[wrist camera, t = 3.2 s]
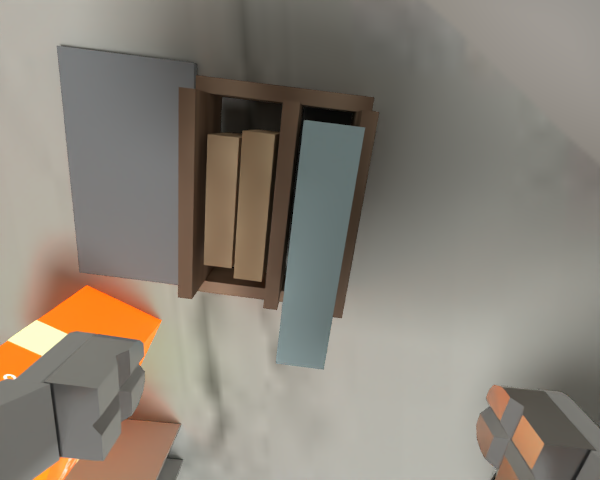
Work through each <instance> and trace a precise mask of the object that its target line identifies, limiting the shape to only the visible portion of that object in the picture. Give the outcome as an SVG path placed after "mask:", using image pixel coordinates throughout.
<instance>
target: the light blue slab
mask: <svg viewBox="0 0 600 480" xmlns="http://www.w3.org/2000/svg"><path fill="white" fill-rule="evenodd" d="M364 132H365V127H357V126H349V125H341V124H333V123H325V122H317V121H309V120H304V123H303V132H302V141H301V149H300V158H299V167H298V175H297V184H296V193H295V201H294V210H293V219H292V227H291V236H290V245H289V253H288V262H287V271H286V279H285V288H284V297H283V305H282V314H281V323H280V331H279V340H278V349H277V357H276V363H277V364H285V365H292V366H300V367H308V368H316V369H323V370H324V364H325V359H326V353H327V347H328V341H329V335H330V329H331V324H332V318H333V312H334V306H335V300H336V295H337V289H338V283H339V277H340V271H341V265H342V260H343V254H344V248H345V242H346V236H347V231H348V225H349V219H350V213H351V207H352V201H353V196H354V190H355V184H356V178H357V172H358V167H359V161H360V155H361V149H362V143H363V137H364Z"/></svg>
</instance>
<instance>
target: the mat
mask: <svg viewBox="0 0 600 480" xmlns="http://www.w3.org/2000/svg"><path fill="white" fill-rule="evenodd" d="M57 53H58V63H59V73H60V83H61V93H62V103H63V113H64V123H65V133H66V142H67V152H68V162H69V172H70V182H71V192H72V202H73V212H74V222H75V231H76V241H77V251H78V261H79V271H80V272H81V273H88V274H96V275H104V276H112V277H120V278H127V279H135V280H143V281H151V282H159V283H166V284H174V285H178V104H179V87H183V88H191V89H196V75H197V64H196V63H192V62H184V61H176V60H168V59H160V58H152V57H144V56H136V55H128V54H120V53H112V52H104V51H96V50H88V49H80V48H72V47H64V46H57Z"/></svg>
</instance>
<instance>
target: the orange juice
mask: <svg viewBox="0 0 600 480" xmlns="http://www.w3.org/2000/svg"><path fill="white" fill-rule="evenodd" d="M160 323H161V320H159V319H157V318H155V317H153V316H151V315H149V314H147V313H144V312H142V311H140V310H138V309H136V308H134V307H132V306H130V305H128V304H125V303H123V302H121V301H119V300H117V299H115V298H113V297H111V296H109V295H106V294H104V293H102V292H100V291H98V290H96V289H94V288H92V287H90V286H87V285H86V286H85V287H84V288H82V289H81V290H79V291H78V292H77V293H75V294H74V295H72V296H71V297H69V298H68V299H67V300H65V301H64V302H62V303H61V304H59V305H58V306H57V307H55V308H54V309H52V310H51V311H49V312H48V313H47V314H45V315H44V316H42V317H41V318H40V319H38V320H35V321H34V322H33V323H31V324H30V325H28V326H27V327H25V328H24V329H23V330H21V331H20V332H18V333H17V334H15V335H14V336H13V337H11V338H10V339H8V340H7V342H5V343H4V344H3V345H1V346H0V381H2V380H4V379H16V378H17V377H18V376H19V375H20V374H22V373H23V372H24V371H25V370H26V369H27V368H29V367H30V366H31V365H32V364H33V363H34V362H36V361H37V360H38V359H39V358H40V357H41V356H43V355H44V354H45V353H46V352H47V351H48V350H50V349H51V348H52V347H53V346H54V345H56V344H57V343H58V342H59V341H60V340H61V339H63V338H64V337H65V336H66V335H67V334H68V333H70V332H74V331H80V332H88V333H95V334H103V335H110V336H116V337H123V338H130V339H137V340H141V341H142V342H143V343H144V357H145V355H146V353H147V351H148V348H149V346H150V344H151V342H152V340H153V338H154V336H155V334H156V331H157V329H158V327H159V325H160ZM144 357H143V358H142V360H141V361H140V363H139V365H141V363H142V361H143V359H144ZM78 460H79V459H72V458H61V457H60V460H59V461H58V462H56V463H55V464H54V465H52V466H51V467H50V468H48V469H47V470H45V471H44V472H43V473H41V474H40V475H39V476H37V477H36V478H34V479H33V480H64V479H65V477H66V476H67V475H68V473H69V472H70V470H71V469H72V468H73V466H74V465H75V463H77V461H78Z"/></svg>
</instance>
